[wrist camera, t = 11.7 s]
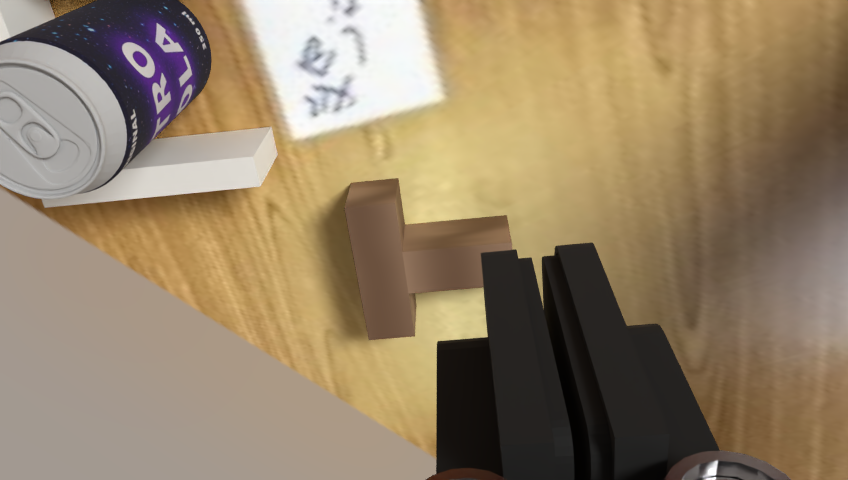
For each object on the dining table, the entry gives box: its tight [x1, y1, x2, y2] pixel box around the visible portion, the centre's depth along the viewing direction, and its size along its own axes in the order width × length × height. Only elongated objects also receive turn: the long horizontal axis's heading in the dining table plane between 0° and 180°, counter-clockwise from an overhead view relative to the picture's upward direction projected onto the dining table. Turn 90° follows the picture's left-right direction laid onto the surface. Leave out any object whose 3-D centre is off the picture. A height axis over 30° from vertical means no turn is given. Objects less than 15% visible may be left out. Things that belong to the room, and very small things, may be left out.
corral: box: [0, 0, 278, 208], centre depth 32 cm, size 10×12×4 cm
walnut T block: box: [344, 178, 512, 340], centre depth 38 cm, size 8×8×3 cm
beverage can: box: [0, 0, 211, 199], centre depth 29 cm, size 6×6×12 cm
